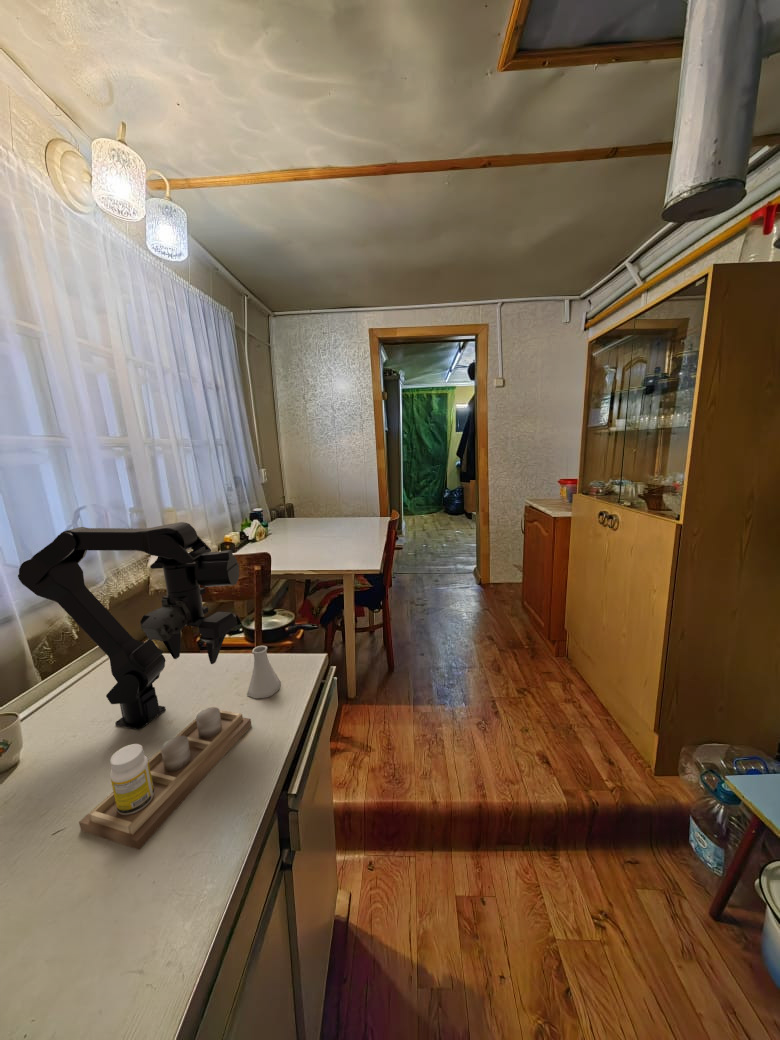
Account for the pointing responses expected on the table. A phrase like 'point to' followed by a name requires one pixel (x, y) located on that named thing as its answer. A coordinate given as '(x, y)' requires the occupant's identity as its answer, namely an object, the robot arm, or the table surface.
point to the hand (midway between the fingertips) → (194, 660)
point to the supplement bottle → (131, 779)
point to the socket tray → (170, 777)
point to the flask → (262, 675)
